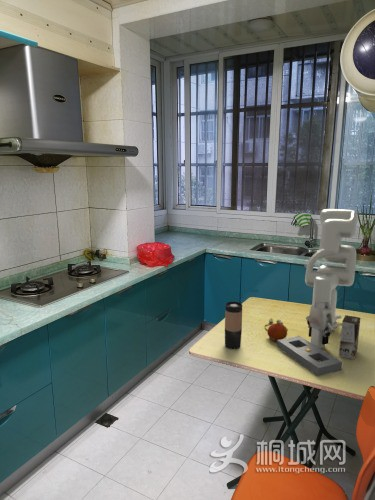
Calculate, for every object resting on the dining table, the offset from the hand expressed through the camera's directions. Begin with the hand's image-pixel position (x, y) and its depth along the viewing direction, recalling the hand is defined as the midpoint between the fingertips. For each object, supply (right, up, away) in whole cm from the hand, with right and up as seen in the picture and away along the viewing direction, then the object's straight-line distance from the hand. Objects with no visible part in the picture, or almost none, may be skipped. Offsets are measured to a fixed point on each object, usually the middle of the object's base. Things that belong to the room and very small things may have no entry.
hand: (318, 339), depth 165 cm
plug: (0, -3, +1) cm, 3 cm away
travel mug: (-39, -3, 0) cm, 39 cm away
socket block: (-8, -5, -10) cm, 14 cm away
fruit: (-17, -2, +7) cm, 19 cm away
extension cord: (-14, +1, +21) cm, 25 cm away
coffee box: (+11, -5, -7) cm, 13 cm away
